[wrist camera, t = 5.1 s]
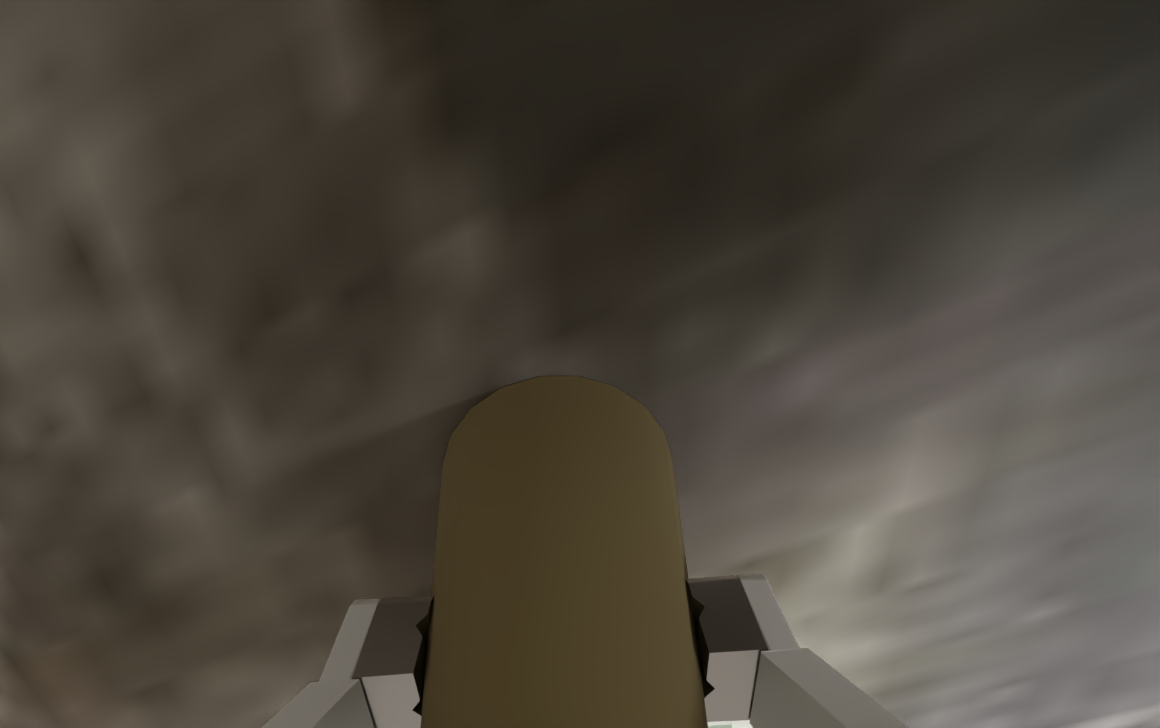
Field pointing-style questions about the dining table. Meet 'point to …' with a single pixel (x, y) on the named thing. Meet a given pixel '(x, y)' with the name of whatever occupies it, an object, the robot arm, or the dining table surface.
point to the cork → (560, 568)
